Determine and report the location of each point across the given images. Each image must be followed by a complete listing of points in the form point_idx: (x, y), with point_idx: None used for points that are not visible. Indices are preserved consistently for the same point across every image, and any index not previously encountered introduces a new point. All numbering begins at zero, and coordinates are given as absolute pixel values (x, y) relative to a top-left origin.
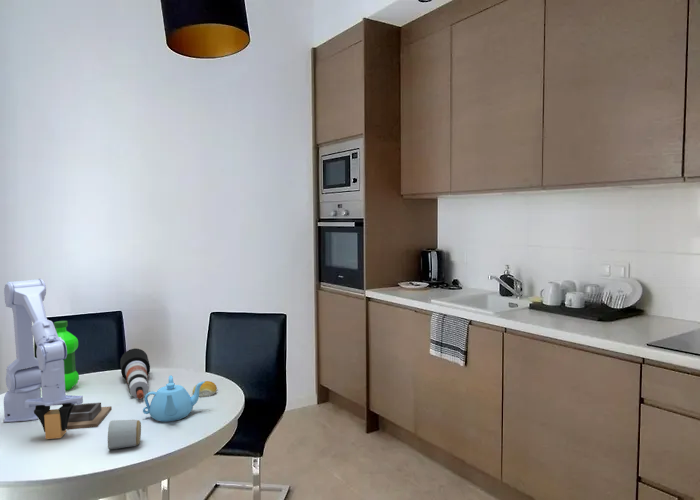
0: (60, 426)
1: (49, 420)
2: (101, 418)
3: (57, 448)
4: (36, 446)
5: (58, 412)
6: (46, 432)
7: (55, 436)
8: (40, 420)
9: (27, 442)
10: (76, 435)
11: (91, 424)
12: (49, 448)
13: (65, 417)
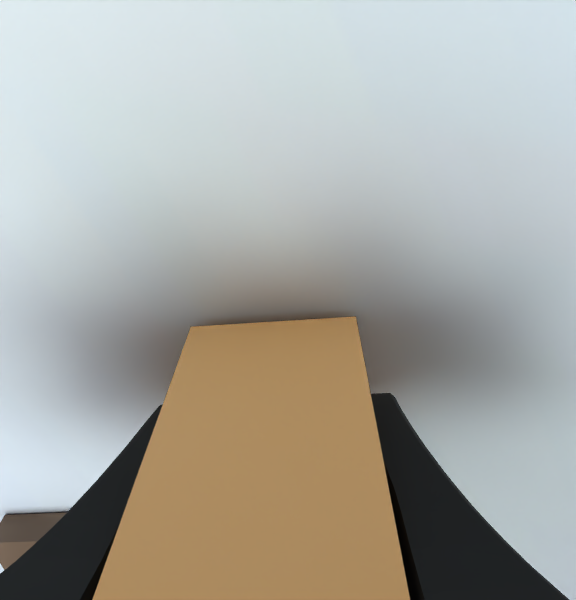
0: (159, 427)
1: (305, 510)
2: None
3: (65, 53)
4: (393, 157)
5: None
6: (348, 364)
7: (245, 336)
8: (473, 520)
9: (546, 282)
10: (79, 383)
11: (39, 536)
12: (181, 67)
13: (21, 556)
